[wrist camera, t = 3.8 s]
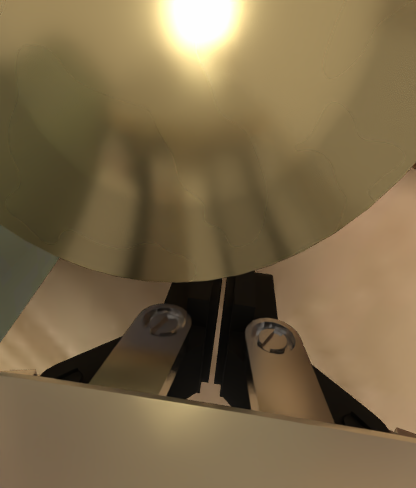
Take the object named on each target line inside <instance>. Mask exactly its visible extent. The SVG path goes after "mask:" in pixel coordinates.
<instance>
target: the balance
mask: <svg viewBox="0 0 416 488" xmlns="http://www.w3.org/2000/svg"><path fill="white" fill-rule="evenodd" d="M415 162H416V0H0V225H2V226H3V227H5V228H6V229H8V230H10V231H11V232H13V233H14V234H16V235H17V236H19V237H21V238H22V239H24V240H25V241H27V242H29V243H31V244H33V245H35V246H37V247H39V248H41V249H43V250H45V251H47V252H49V253H50V254H52V255H54V256H56V257H59V258H62V259H64V260H67V261H69V262H72V263H74V264H77V265H80V266H82V267H85V268H88V269H91V270H95V271H99V272H102V273H106V274H110V275H113V276H118V277H124V278H130V279H136V280H142V281H155V282H174V283H178V282H194V281H208V280H214V279H219V278H225V277H231V276H236V275H241V274H244V273H247V272H251V271H254V270H257V269H260V268H264V267H267V266H270V265H273V264H275V263H277V262H280V261H282V260H284V259H287V258H289V257H291V256H294V255H296V254H298V253H300V252H303V251H305V250H306V249H308V248H310V247H312V246H313V245H315V244H317V243H319V242H320V241H322V240H324V239H325V238H327V237H329V236H331V235H332V234H334V233H336V232H337V231H339V230H340V229H341V228H343V227H344V226H345V225H347V224H348V223H349V222H351V221H352V220H354V219H355V218H356V217H358V216H359V215H360V214H362V213H363V212H364V211H366V210H367V209H369V208H370V207H371V206H372V205H373V204H374V203H375V202H376V201H377V200H378V199H379V198H381V197H382V196H383V195H384V194H385V193H386V192H387V191H388V190H389V189H390V188H391V187H393V186H394V185H395V184H396V183H397V182H398V181H399V180H400V179H401V178H402V177H403V176H404V175H405V174H406V173H407V172H408V170H409V169H410V168H411V167H412V166H413V165H414V164H415Z"/></svg>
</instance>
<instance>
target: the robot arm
mask: <svg viewBox="0 0 416 488" xmlns="http://www.w3.org/2000/svg"><path fill="white" fill-rule="evenodd" d="M221 285H222V278H219V279H214V280H208V281H194V282H178V283H174V282H172V284H171V287H170V290H169V292H168V295H167V297H166V300H165V302H164V304H156V305H153V306H150V307H148V308H146V309H144V310H143V311H142V312H141V313H140V314H139V315H138V316H137V318H136V319H135V320H134V322H133V323H132V324H131V326H130V327H129V329H128V330H127V331H126V333H125V334H124V335H123V336H122V337H119V338H117V339H115V340H112V341H110V342H108V343H105V344H103V345H101V346H98V347H96V348H94V349H91V350H89V351H87V352H84V353H82V354H80V355H77V356H75V357H73V358H70V359H68V360H66V361H63V362H61V363H58V364H56V365H54V366H52V367H51V368H49V369H47V370H46V371H44V372H43V373H42V374H37V372H36V369H32V370H9V371H0V488H416V434H414V433H411V432H408V431H405V430H402V429H400V428H396V429H395V431H394V432H393V431H390V430H388V428H387V427H386V425H385V424H384V423H383V422H382V421H381V420H380V419H379V418H378V417H377V416H376V415H374V414H373V413H372V412H371V411H369V410H368V409H367V408H366V407H364V406H363V405H362V404H361V403H359V402H358V401H357V400H356V399H354V398H353V397H352V396H351V395H349V394H348V393H347V392H345V391H344V390H343V389H342V388H340V387H339V386H338V385H337V384H335V383H334V382H333V381H332V380H330V379H329V378H328V377H327V376H325V375H324V374H323V373H322V372H320V371H319V370H318V369H317V368H315V367H314V366H313V365H312V364H311V363H310V360H309V358H308V355H307V352H306V350H305V347H304V345H303V342H302V340H301V338H300V336H299V334H298V333H297V331H296V330H295V329H293V328H292V327H291V326H290V325H288V324H286V323H285V322H283V321H280V320H278V317H277V308H276V300H275V292H274V283H273V276H272V275H270V274H262V273H255V270H254V271H251V272H247V273H244V274H241V275H236V276H231V277H227V281H226V289H225V296H224V304H223V312H222V321H221V329H220V338H219V346H218V354H217V363H216V371H215V380H214V384H220V385H221V389H220V397H224V399H225V400H226V401H227V402H228V403H229V404H230V405H231V407H230V406H224V405H217V404H211V403H205V402H199V401H193V400H187V398H189V397H190V396H192V395H193V394H195V393H200V387H201V382H207V383H208V381H209V374H210V366H211V359H212V352H213V345H214V338H215V330H216V323H217V316H218V309H219V301H220V293H221Z"/></svg>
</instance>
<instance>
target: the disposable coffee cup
mask: <svg viewBox="0 0 416 488" xmlns="http://www.w3.org/2000/svg"><path fill="white" fill-rule="evenodd" d="M58 259H59V257H56V256H54V255H52V254H50V253H49V252H47V251H45V250H43V249H41V248H39V247H37V246H35V245H33V244H31V243H29V242H27V241H25V240H24V239H22V238H21V237H19V236H17V235H16V234H14V233H13V232H11V231H10V230H8V229H6V228H5V227H3V226H2V225H0V342H1V341H2V339H3V338H4V336H5V335H6V334H7V332H8V331H9V329H10V328H11V326H12V325H13V324H14V322H15V321H16V319H17V318H18V316H19V315H20V314H21V312H22V311H23V309H24V308H25V306H26V305H27V304H28V302H29V301H30V299H31V298H32V296H33V295H34V294H35V292H36V291H37V289H38V288H39V286H40V285H41V284H42V282H43V281H44V279H45V278H46V276H47V275H48V274H49V272H50V271H51V269H52V268H53V266H54V265H55V264H56V262H57V261H58Z"/></svg>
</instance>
